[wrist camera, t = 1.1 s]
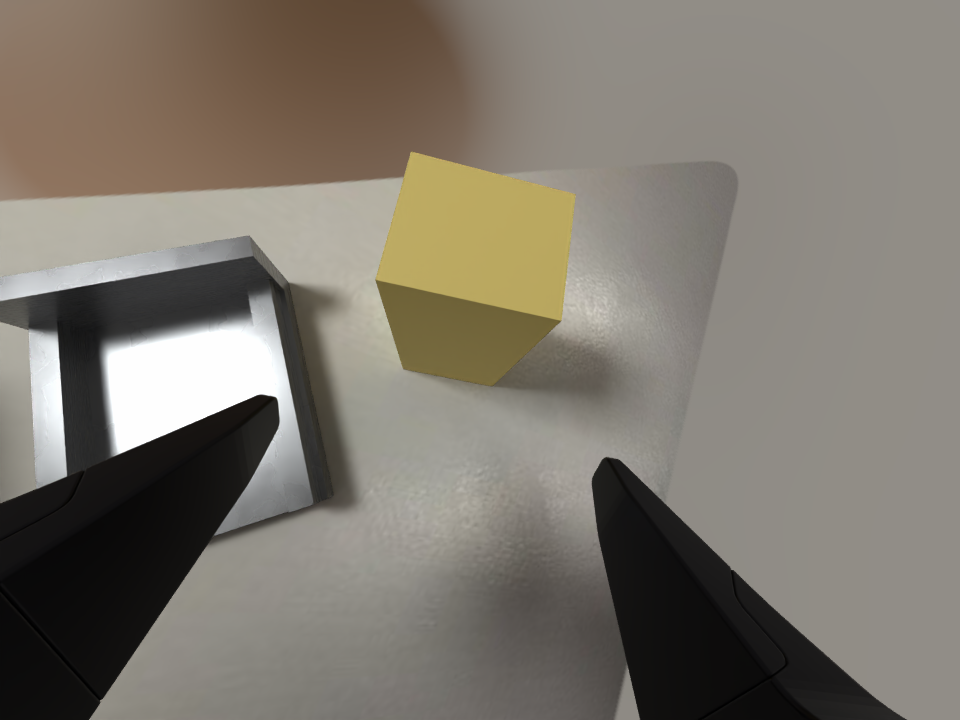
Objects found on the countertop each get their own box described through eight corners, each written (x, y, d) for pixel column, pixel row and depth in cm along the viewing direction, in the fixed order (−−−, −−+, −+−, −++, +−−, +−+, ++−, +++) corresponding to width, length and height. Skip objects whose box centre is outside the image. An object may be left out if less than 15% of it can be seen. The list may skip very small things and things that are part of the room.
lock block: (492, 386, 23) (561, 320, 11) (403, 368, 23) (375, 279, 11) (503, 318, 24) (575, 194, 12) (419, 300, 24) (411, 151, 12)
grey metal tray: (333, 495, 20) (302, 511, 15) (91, 574, 18) (-43, 625, 13) (288, 281, 23) (249, 235, 18) (72, 324, 20) (-44, 284, 15)
